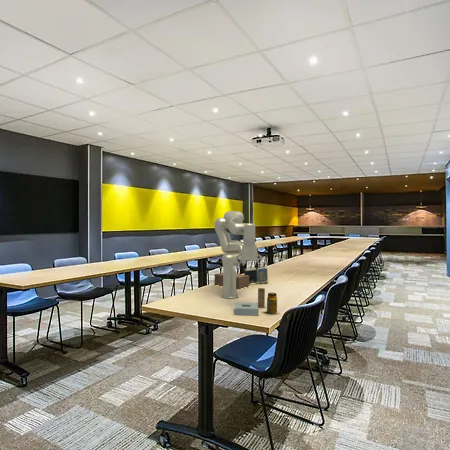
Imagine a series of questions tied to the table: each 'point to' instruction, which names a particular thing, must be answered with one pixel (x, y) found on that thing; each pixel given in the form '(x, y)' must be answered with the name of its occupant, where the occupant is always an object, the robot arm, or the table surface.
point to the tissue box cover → (240, 280)
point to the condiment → (271, 304)
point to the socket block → (246, 309)
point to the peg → (261, 297)
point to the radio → (257, 275)
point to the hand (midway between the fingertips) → (249, 269)
